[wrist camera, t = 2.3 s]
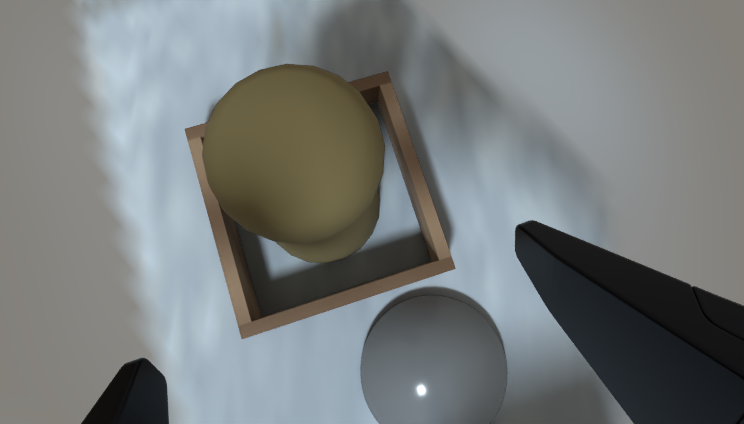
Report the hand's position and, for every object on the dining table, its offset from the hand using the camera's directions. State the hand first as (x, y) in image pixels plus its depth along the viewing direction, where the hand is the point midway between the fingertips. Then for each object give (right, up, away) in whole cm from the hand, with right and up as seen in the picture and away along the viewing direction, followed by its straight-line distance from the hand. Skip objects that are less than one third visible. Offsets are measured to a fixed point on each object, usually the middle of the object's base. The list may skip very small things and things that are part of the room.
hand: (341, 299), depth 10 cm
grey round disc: (+4, -6, +11) cm, 13 cm away
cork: (-2, +2, +12) cm, 12 cm away
